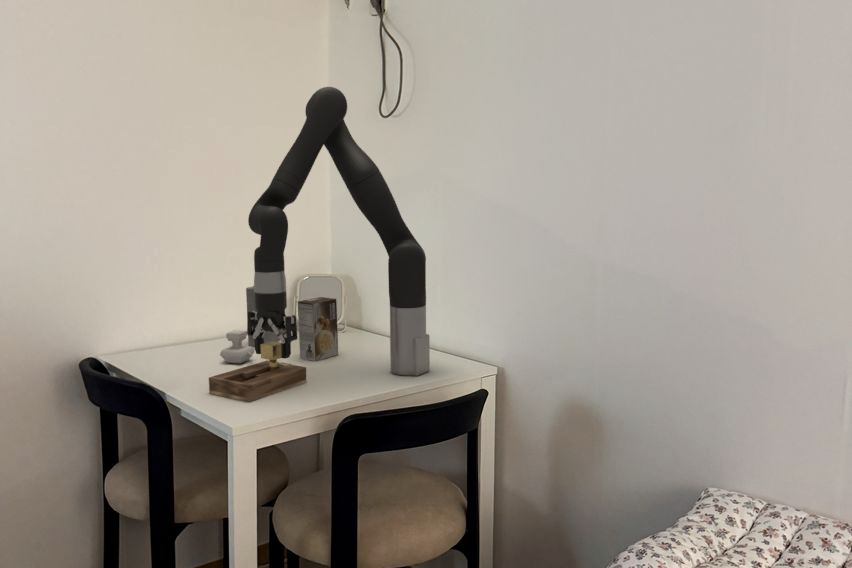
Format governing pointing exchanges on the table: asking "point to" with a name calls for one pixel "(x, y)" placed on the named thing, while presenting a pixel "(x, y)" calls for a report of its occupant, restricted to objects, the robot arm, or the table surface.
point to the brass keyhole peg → (271, 353)
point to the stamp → (237, 348)
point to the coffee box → (318, 328)
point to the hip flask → (251, 307)
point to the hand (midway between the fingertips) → (272, 355)
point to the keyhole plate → (257, 381)
